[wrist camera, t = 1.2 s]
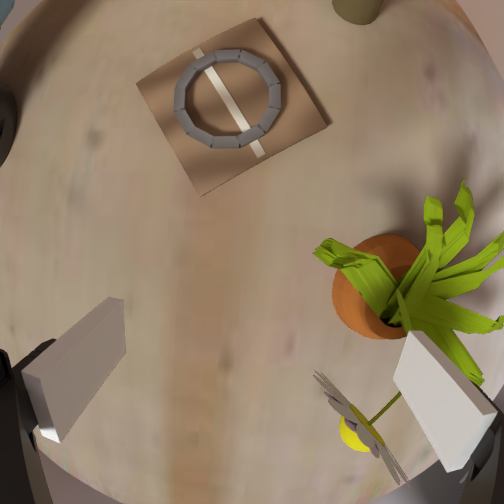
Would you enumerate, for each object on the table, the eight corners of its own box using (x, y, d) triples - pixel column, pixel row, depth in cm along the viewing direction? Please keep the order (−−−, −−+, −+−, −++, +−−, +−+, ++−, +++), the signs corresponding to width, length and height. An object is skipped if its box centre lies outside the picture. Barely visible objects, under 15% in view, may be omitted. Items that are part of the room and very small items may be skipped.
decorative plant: (250, 270, 37) (234, 420, 13) (402, 141, 33) (566, 109, 9) (370, 401, 41) (427, 536, 17) (489, 296, 37) (604, 372, 13)
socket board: (139, 86, 33) (131, 80, 30) (255, 22, 31) (254, 12, 28) (201, 196, 35) (197, 197, 33) (325, 128, 33) (330, 124, 31)
